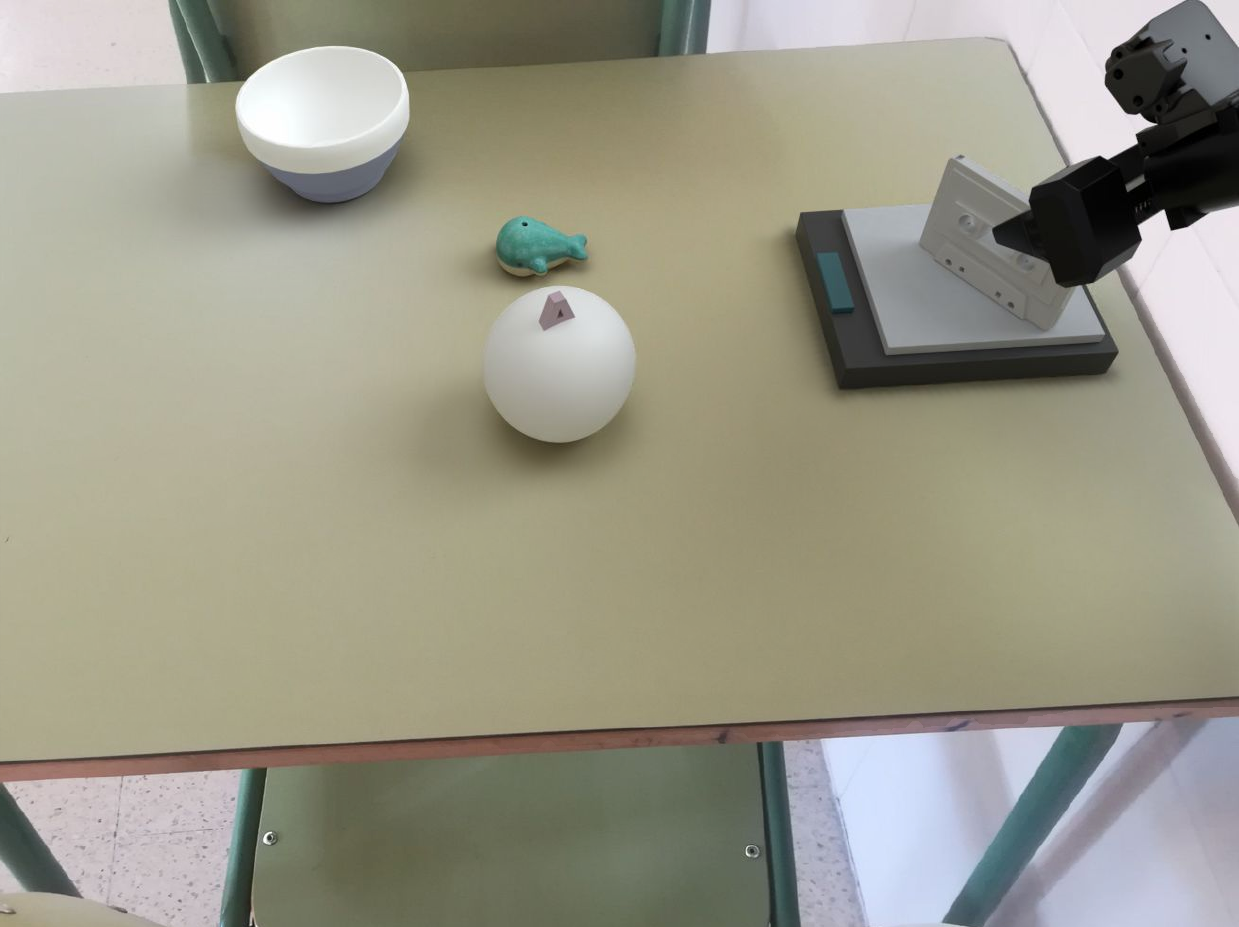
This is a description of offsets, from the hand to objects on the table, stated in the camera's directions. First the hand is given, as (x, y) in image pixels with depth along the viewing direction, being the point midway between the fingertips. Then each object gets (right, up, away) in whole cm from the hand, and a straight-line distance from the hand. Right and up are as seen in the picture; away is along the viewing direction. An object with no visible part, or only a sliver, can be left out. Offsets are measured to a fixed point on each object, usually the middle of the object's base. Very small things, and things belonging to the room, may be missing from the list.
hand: (1043, 206), depth 69 cm
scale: (-1, -3, +11) cm, 11 cm away
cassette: (0, -3, +7) cm, 8 cm away
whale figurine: (-32, +1, +16) cm, 36 cm away
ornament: (-32, -13, +7) cm, 35 cm away
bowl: (-50, +11, +24) cm, 57 cm away
